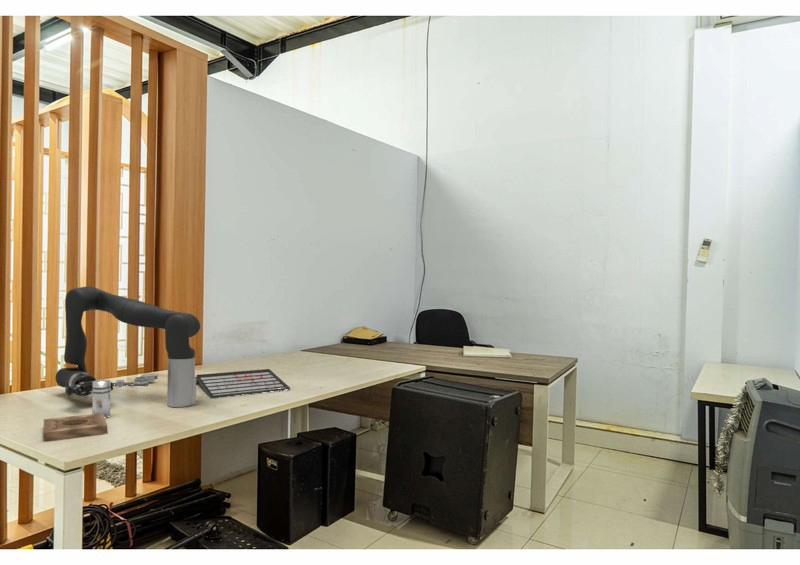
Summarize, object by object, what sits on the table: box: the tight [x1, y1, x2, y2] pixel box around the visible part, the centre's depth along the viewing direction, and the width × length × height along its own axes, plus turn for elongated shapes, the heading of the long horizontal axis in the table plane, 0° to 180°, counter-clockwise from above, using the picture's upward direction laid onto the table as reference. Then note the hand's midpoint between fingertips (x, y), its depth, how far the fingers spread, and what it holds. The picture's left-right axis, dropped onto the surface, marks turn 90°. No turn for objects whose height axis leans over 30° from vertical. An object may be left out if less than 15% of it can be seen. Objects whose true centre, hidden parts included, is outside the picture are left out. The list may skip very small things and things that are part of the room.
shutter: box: [195, 368, 291, 399], centre depth 230 cm, size 32×7×31 cm
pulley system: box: [112, 373, 158, 387], centre depth 231 cm, size 27×5×15 cm
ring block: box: [43, 413, 108, 442], centre depth 165 cm, size 16×16×2 cm
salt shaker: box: [91, 378, 112, 418], centre depth 180 cm, size 5×5×12 cm
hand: (94, 391), depth 186 cm, fingers open, 8 cm apart
